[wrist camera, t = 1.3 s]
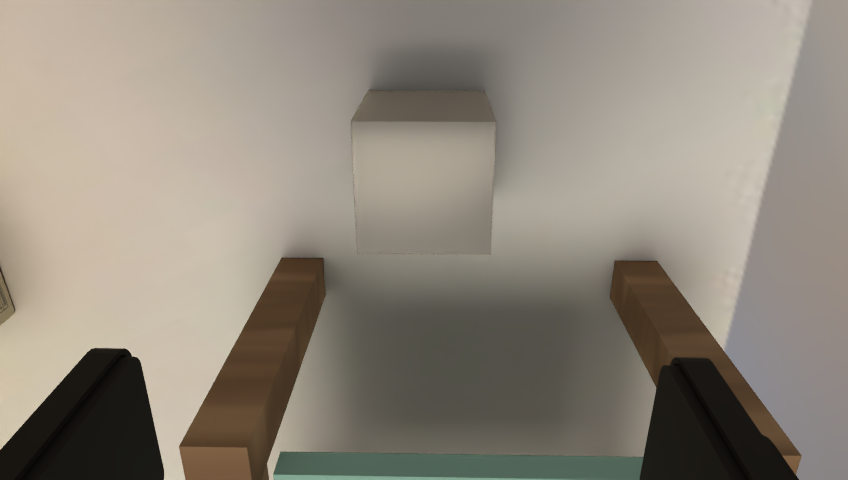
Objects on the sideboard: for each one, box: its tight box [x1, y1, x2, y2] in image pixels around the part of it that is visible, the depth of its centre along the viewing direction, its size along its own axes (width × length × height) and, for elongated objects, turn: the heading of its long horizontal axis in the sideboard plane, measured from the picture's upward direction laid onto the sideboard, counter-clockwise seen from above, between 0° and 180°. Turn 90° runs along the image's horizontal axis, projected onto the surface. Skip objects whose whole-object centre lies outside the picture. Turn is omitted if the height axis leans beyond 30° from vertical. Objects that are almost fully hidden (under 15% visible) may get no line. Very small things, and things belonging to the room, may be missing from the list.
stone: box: [351, 90, 496, 254], centre depth 25 cm, size 5×5×6 cm
